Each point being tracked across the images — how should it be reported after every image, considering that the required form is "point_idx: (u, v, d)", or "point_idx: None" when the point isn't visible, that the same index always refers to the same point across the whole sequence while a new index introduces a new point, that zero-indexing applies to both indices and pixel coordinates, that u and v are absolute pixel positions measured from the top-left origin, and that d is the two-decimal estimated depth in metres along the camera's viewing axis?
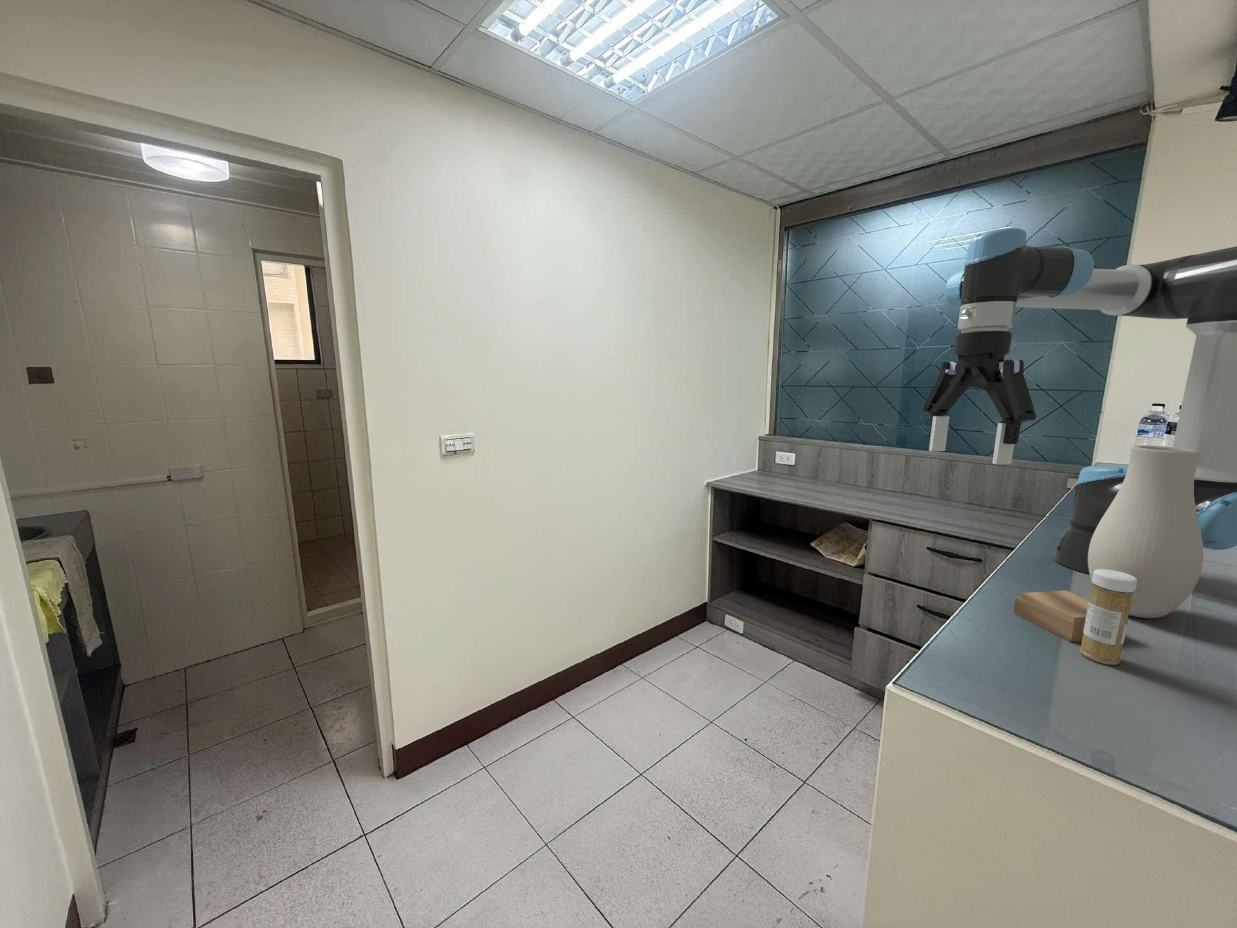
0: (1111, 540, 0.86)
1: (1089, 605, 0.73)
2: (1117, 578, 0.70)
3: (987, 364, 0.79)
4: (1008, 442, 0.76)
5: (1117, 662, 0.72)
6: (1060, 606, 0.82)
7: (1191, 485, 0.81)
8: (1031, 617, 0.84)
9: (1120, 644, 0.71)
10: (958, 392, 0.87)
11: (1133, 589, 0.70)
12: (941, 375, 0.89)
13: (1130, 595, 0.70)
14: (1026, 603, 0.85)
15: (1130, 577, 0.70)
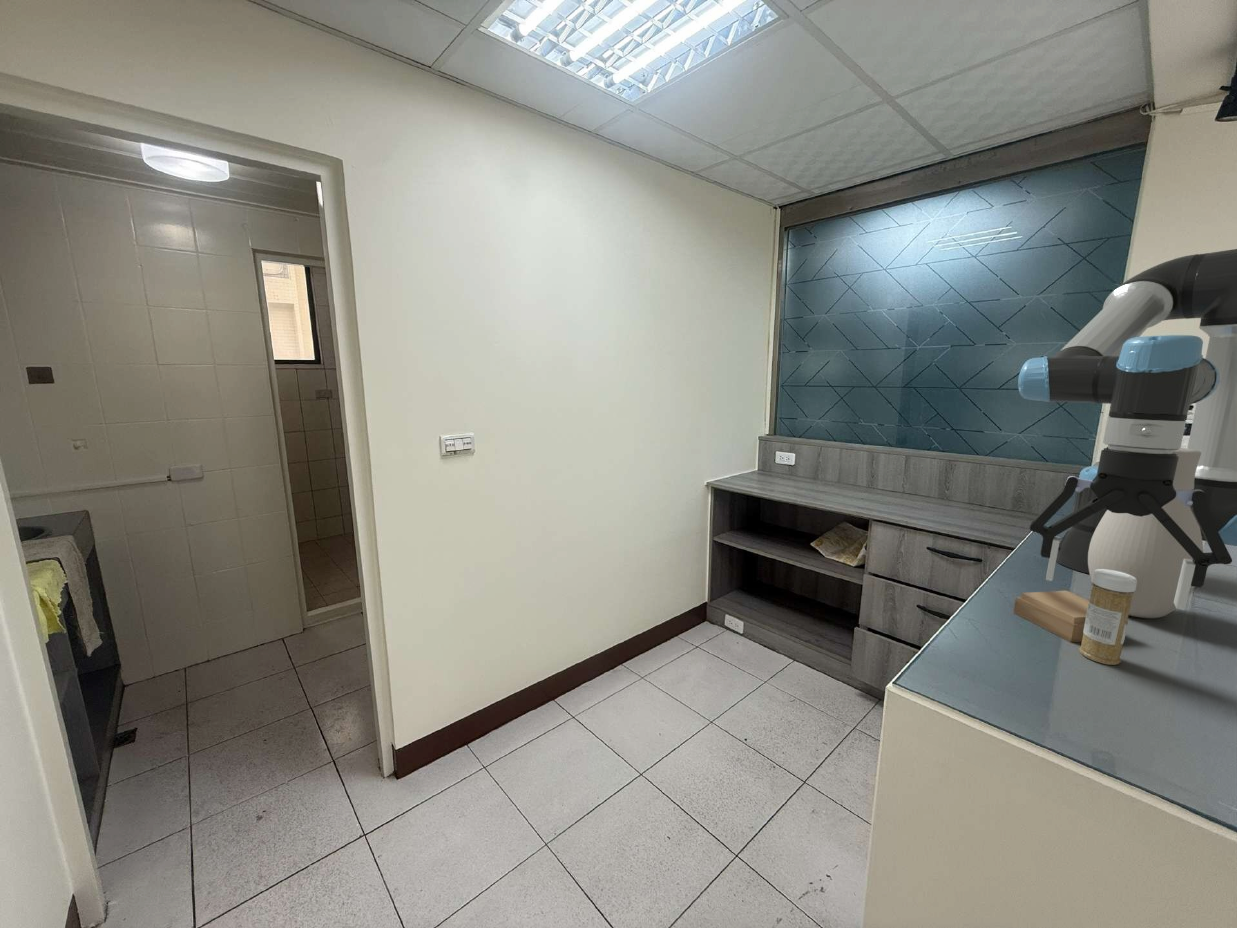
0: (1111, 540, 0.86)
1: (1089, 605, 0.73)
2: (1117, 578, 0.70)
3: (1160, 491, 0.67)
4: (1199, 585, 0.66)
5: (1117, 662, 0.72)
6: (1060, 606, 0.82)
7: (1191, 485, 0.81)
8: (1031, 617, 0.84)
9: (1120, 644, 0.71)
10: None
11: (1133, 589, 0.70)
12: (1067, 493, 0.73)
13: (1130, 595, 0.70)
14: (1026, 603, 0.85)
15: (1130, 577, 0.70)
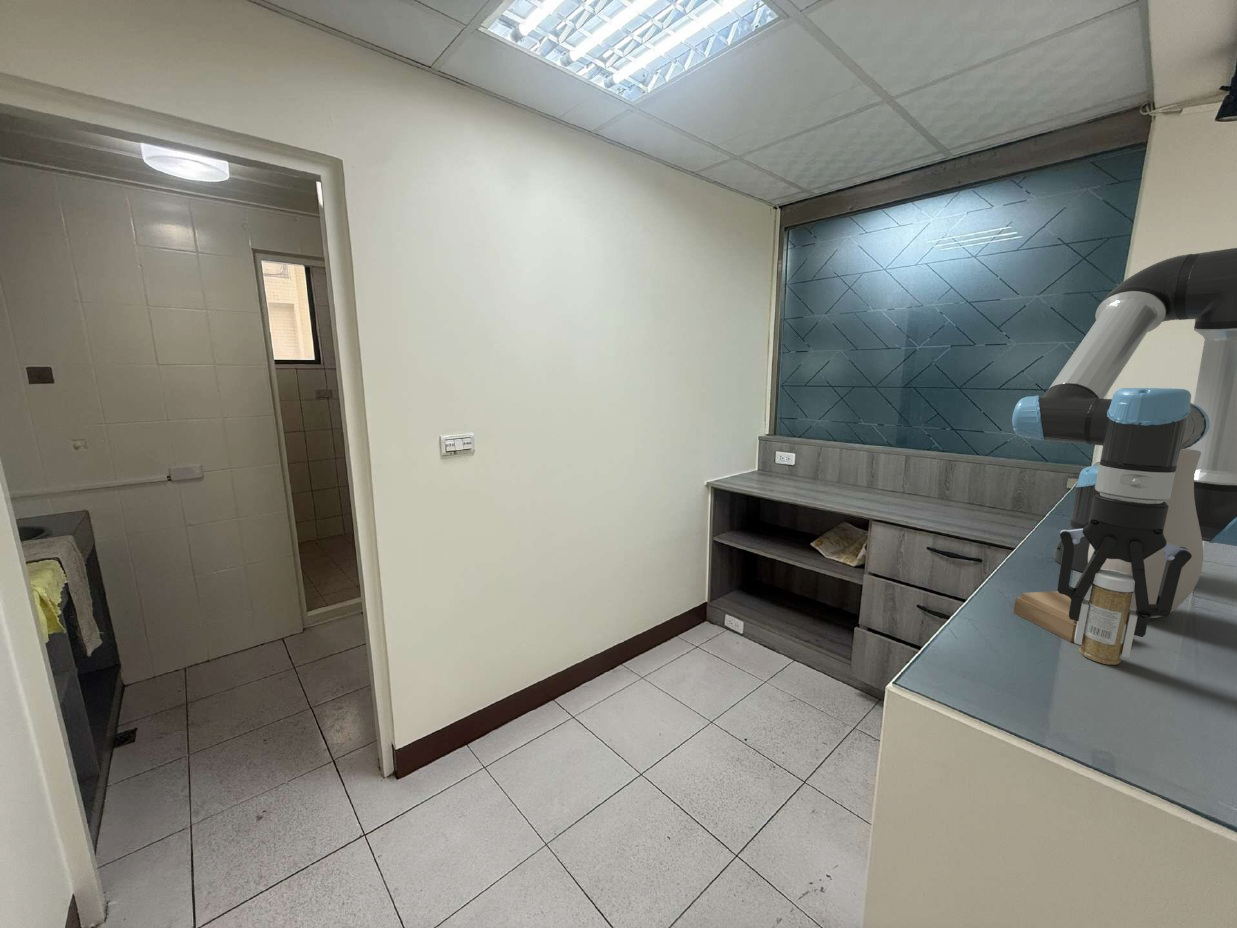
0: None
1: (1089, 605, 0.73)
2: (1116, 577, 0.70)
3: (1153, 539, 0.68)
4: (1142, 635, 0.70)
5: (1117, 662, 0.72)
6: (1060, 606, 0.82)
7: (1191, 485, 0.81)
8: (1031, 617, 0.84)
9: (1120, 644, 0.71)
10: None
11: (1133, 589, 0.70)
12: (1069, 548, 0.74)
13: (1130, 595, 0.70)
14: (1026, 603, 0.85)
15: (1130, 577, 0.70)
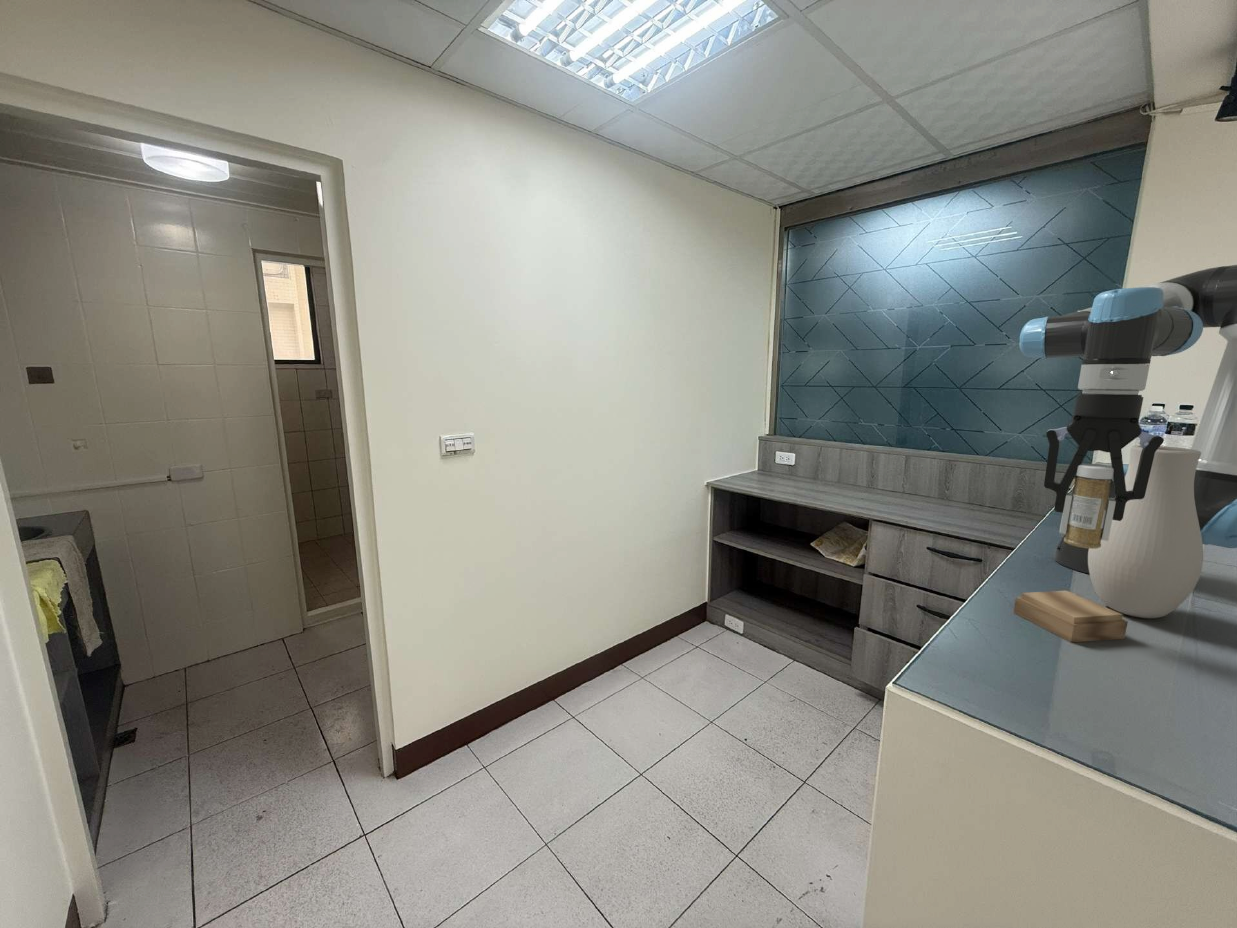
0: (1111, 540, 0.86)
1: (1072, 496, 0.80)
2: (1097, 467, 0.77)
3: (1129, 428, 0.75)
4: (1120, 519, 0.77)
5: (1098, 546, 0.79)
6: (1060, 606, 0.82)
7: (1191, 485, 0.81)
8: (1031, 617, 0.84)
9: (1100, 529, 0.78)
10: None
11: (1111, 476, 0.77)
12: (1054, 445, 0.81)
13: (1109, 482, 0.77)
14: (1026, 603, 0.85)
15: (1109, 466, 0.77)
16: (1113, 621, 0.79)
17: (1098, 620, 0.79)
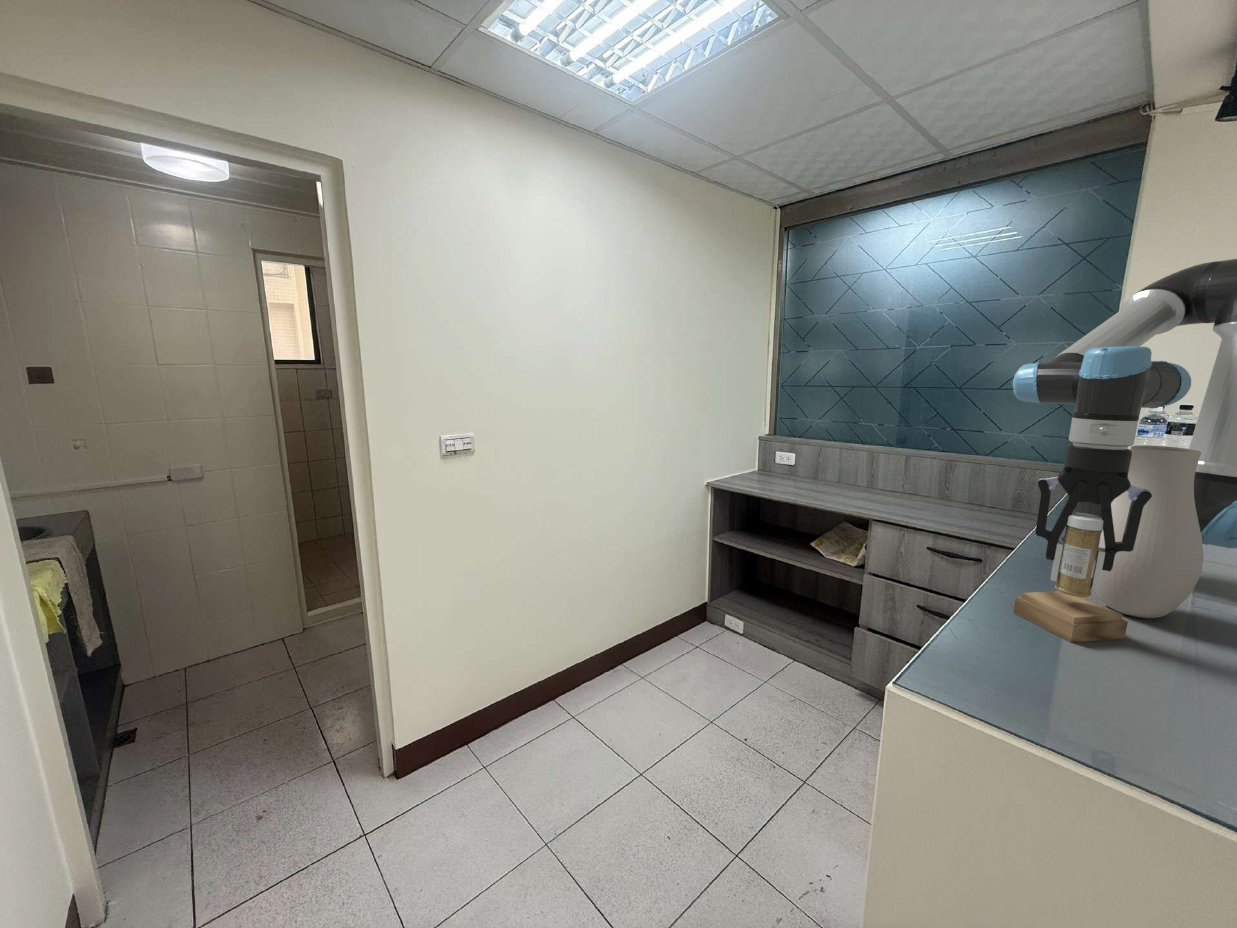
0: None
1: (1063, 545, 0.82)
2: (1087, 518, 0.79)
3: (1118, 482, 0.76)
4: (1109, 569, 0.79)
5: (1088, 595, 0.80)
6: (1060, 606, 0.82)
7: (1191, 485, 0.81)
8: (1031, 617, 0.84)
9: (1090, 578, 0.80)
10: None
11: (1101, 528, 0.78)
12: (1045, 494, 0.82)
13: (1099, 533, 0.78)
14: (1026, 603, 0.85)
15: (1099, 518, 0.79)
16: (1113, 621, 0.79)
17: (1098, 620, 0.79)
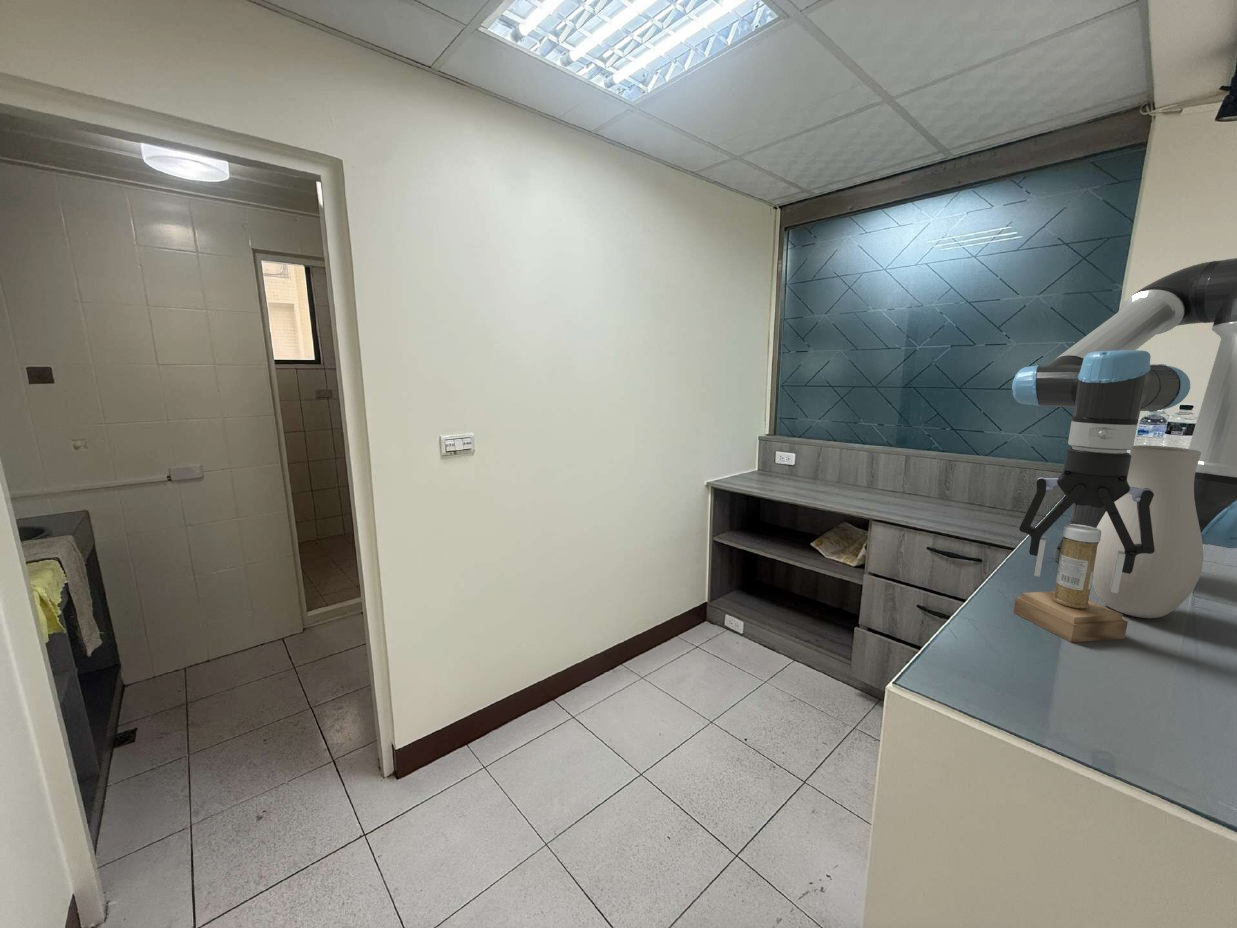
0: (1111, 540, 0.86)
1: (1060, 556, 0.82)
2: (1083, 530, 0.79)
3: (1117, 485, 0.76)
4: (1129, 572, 0.77)
5: (1085, 606, 0.81)
6: (1060, 606, 0.82)
7: (1191, 485, 0.81)
8: (1031, 617, 0.84)
9: (1087, 589, 0.80)
10: None
11: (1098, 539, 0.79)
12: (1040, 493, 0.83)
13: (1095, 545, 0.79)
14: (1026, 603, 0.85)
15: (1095, 529, 0.79)
16: (1113, 621, 0.79)
17: (1098, 620, 0.79)
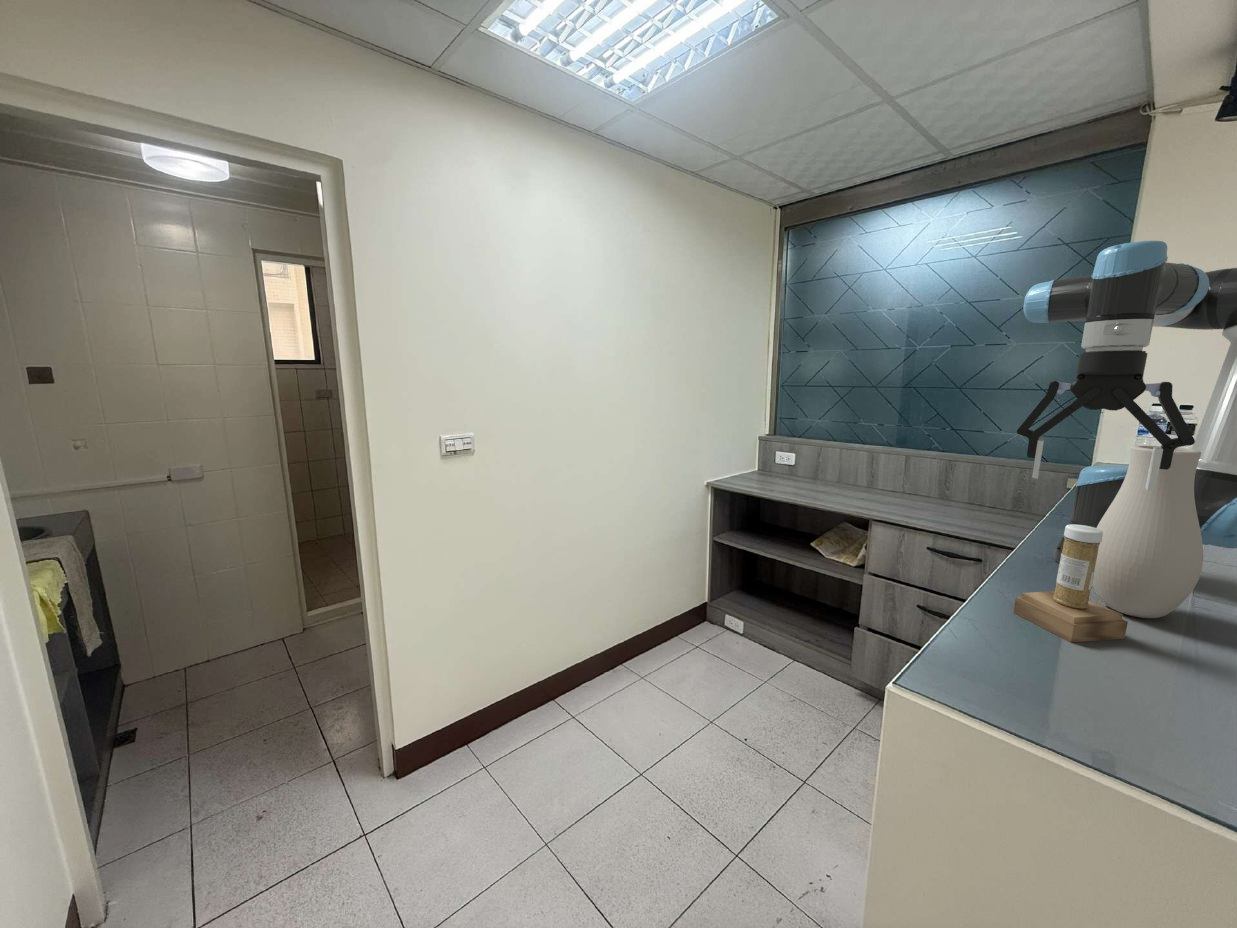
0: (1111, 540, 0.86)
1: (1061, 556, 0.82)
2: (1085, 530, 0.79)
3: (1132, 386, 0.74)
4: (1167, 467, 0.73)
5: (1085, 606, 0.81)
6: (1060, 606, 0.82)
7: (1191, 485, 0.81)
8: (1031, 617, 0.84)
9: (1088, 590, 0.80)
10: None
11: (1099, 540, 0.78)
12: (1050, 396, 0.81)
13: (1097, 545, 0.79)
14: (1026, 603, 0.85)
15: (1097, 530, 0.79)
16: (1113, 621, 0.79)
17: (1098, 620, 0.79)
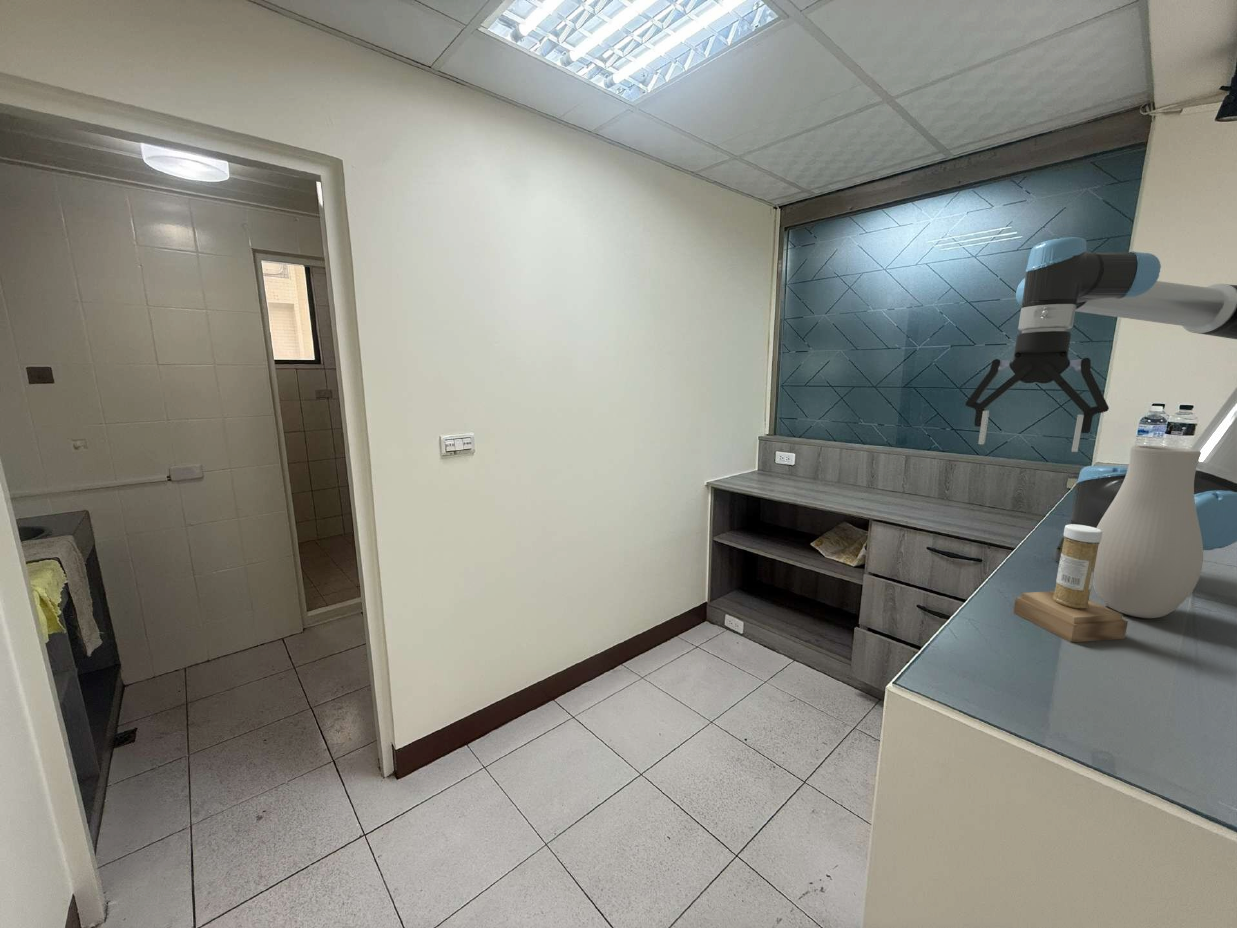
0: (1111, 540, 0.86)
1: (1061, 556, 0.82)
2: (1085, 530, 0.79)
3: (1058, 362, 0.87)
4: (1087, 431, 0.86)
5: (1085, 606, 0.81)
6: (1060, 606, 0.82)
7: (1191, 485, 0.81)
8: (1031, 617, 0.84)
9: (1088, 590, 0.80)
10: None
11: (1099, 540, 0.79)
12: (992, 372, 0.93)
13: (1096, 545, 0.79)
14: (1026, 603, 0.85)
15: (1096, 529, 0.79)
16: (1113, 621, 0.79)
17: (1098, 620, 0.79)
